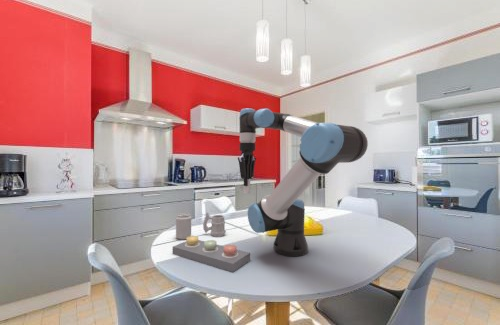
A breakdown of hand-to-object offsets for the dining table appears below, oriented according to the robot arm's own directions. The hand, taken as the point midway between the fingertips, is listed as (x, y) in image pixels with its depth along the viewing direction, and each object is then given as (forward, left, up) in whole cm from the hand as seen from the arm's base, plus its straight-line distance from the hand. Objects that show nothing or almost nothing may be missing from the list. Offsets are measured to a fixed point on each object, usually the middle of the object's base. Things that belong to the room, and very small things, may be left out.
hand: (246, 192), depth 111 cm
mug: (+22, -3, -25) cm, 33 cm away
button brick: (-5, +20, -20) cm, 29 cm away
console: (+5, +20, -24) cm, 32 cm away
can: (+32, +9, -25) cm, 41 cm away
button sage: (+5, +20, -20) cm, 29 cm away
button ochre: (+15, +20, -20) cm, 32 cm away
